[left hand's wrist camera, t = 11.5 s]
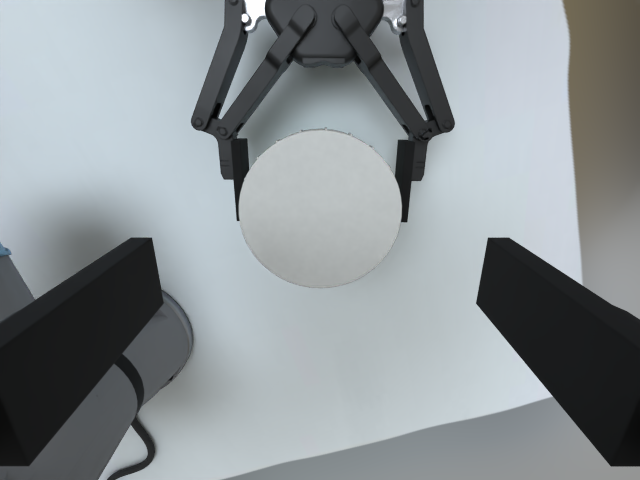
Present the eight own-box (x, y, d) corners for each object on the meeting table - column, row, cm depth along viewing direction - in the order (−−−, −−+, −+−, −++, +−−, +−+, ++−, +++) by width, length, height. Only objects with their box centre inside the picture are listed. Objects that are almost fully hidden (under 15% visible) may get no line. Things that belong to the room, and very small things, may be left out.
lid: (414, 246, 23) (423, 258, 21) (281, 294, 24) (278, 309, 22) (367, 101, 20) (372, 100, 18) (217, 164, 21) (207, 170, 19)
